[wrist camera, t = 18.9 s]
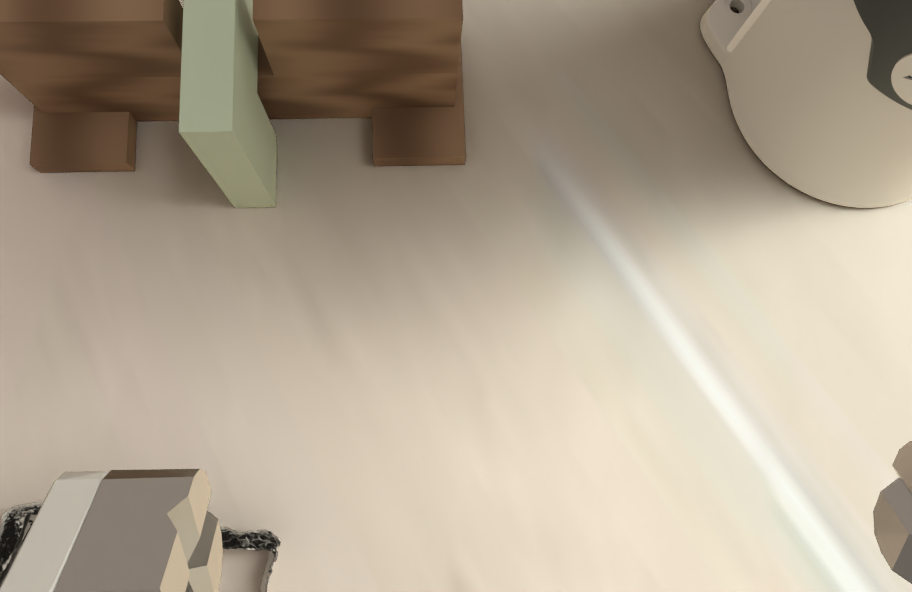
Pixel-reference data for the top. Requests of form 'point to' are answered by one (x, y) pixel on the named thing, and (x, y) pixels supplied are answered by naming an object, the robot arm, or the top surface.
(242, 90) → the green slotted plate
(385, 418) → the top surface
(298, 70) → the walnut slotted board
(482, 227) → the top surface
